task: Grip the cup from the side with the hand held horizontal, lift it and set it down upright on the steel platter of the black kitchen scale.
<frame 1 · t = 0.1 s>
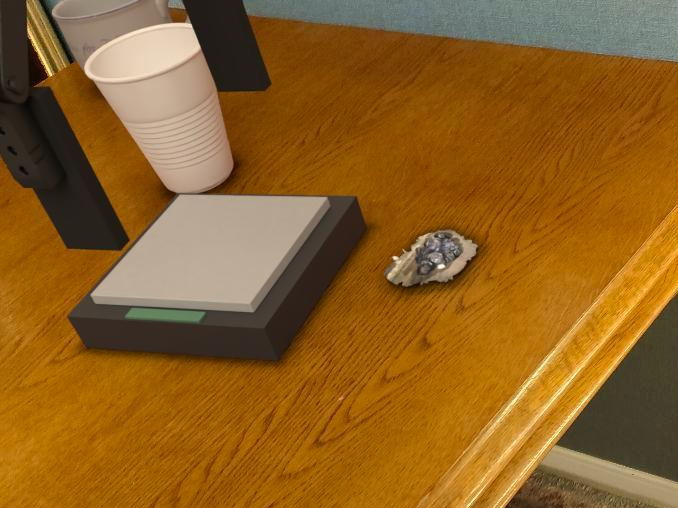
hand: (178, 160, 46), 20 cm above the table, tool pointing down, fingers open, 13 cm apart
teacup: (154, 75, 104), on the table
cup: (201, 179, 87), on the table
scale: (230, 286, 75), on the table
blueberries: (433, 263, 73), on the table
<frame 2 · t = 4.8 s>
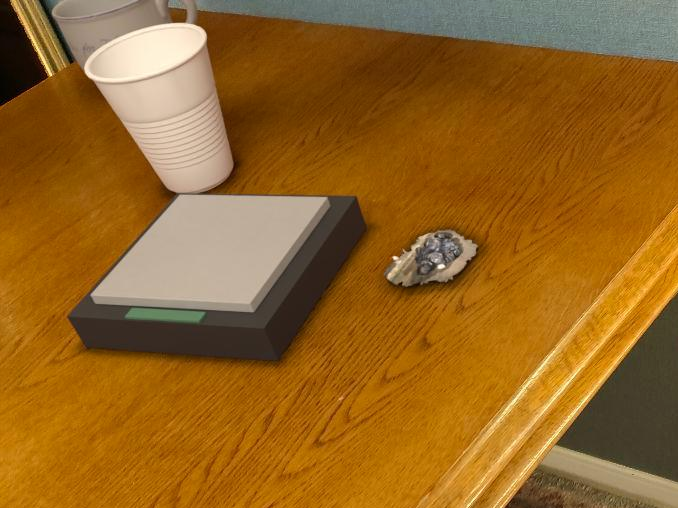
nothing on the table moved.
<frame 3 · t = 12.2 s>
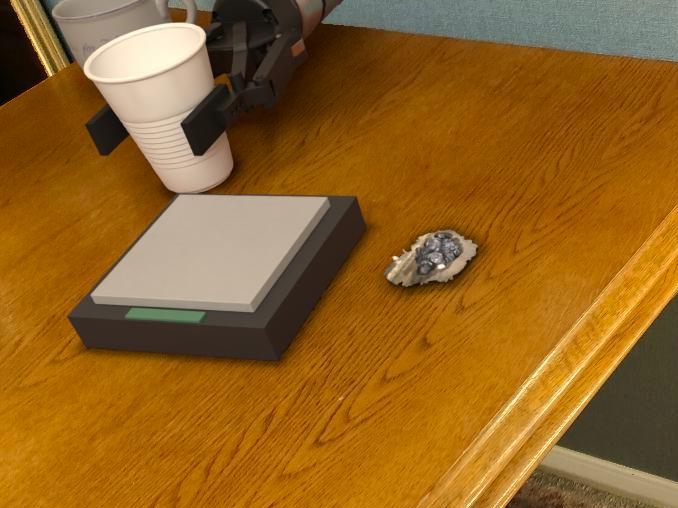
hand: (143, 140, 80), 6 cm above the table, tool horizontal, fingers closed on cup, 8 cm apart
cup: (201, 179, 87), on the table, touching gripper
everything else where it was.
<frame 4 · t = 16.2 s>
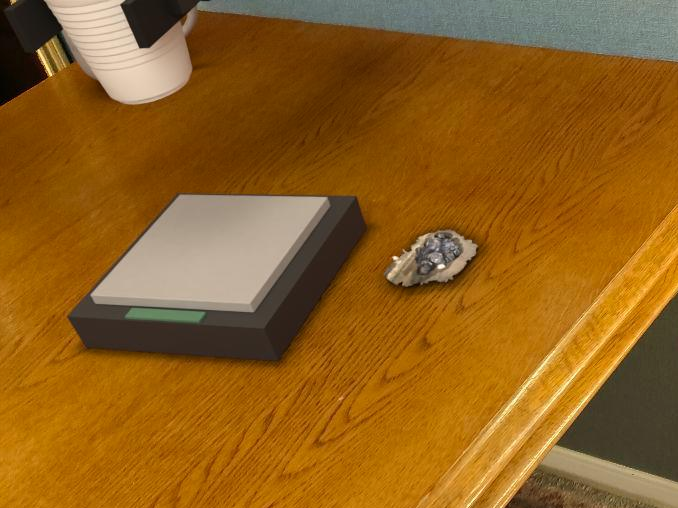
hand: (76, 29, 64), 18 cm above the table, tool horizontal, fingers closed on cup, 8 cm apart
cup: (154, 88, 72), point 12 cm above the table, touching gripper
everything else where it was.
when the fingers open (10 cm above the table, at t = 20.3 s): cup stays where it is, resting on scale.
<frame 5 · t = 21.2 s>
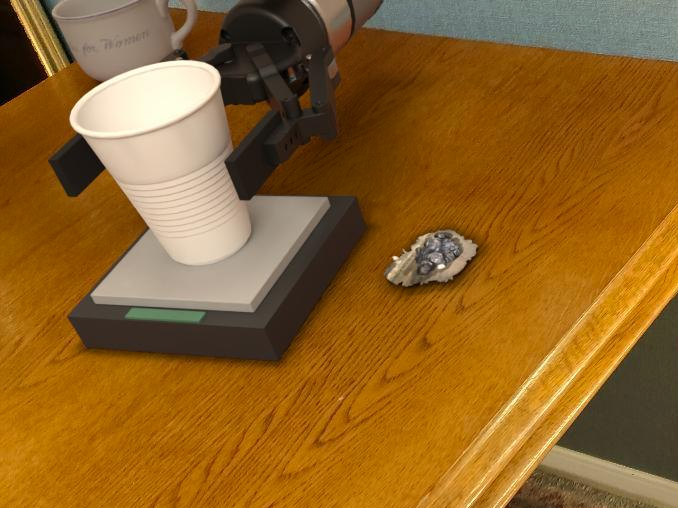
hand: (146, 180, 65), 11 cm above the table, tool horizontal, fingers open, 13 cm apart
cup: (213, 246, 73), point 3 cm above the table, touching scale
everything else where it was.
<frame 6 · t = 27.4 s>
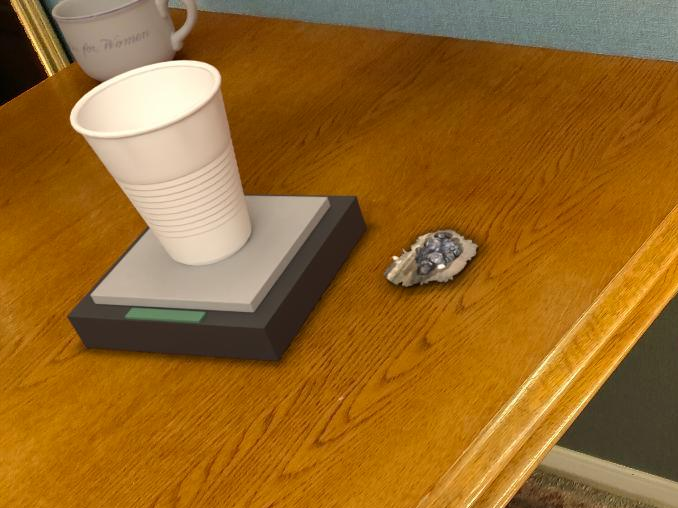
nothing on the table moved.
at the end: cup inside the target area on the scale (0.0 cm from its centre), point 3.4 cm above the scale's base; cup tilted 0°; the gripper is holding nothing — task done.
